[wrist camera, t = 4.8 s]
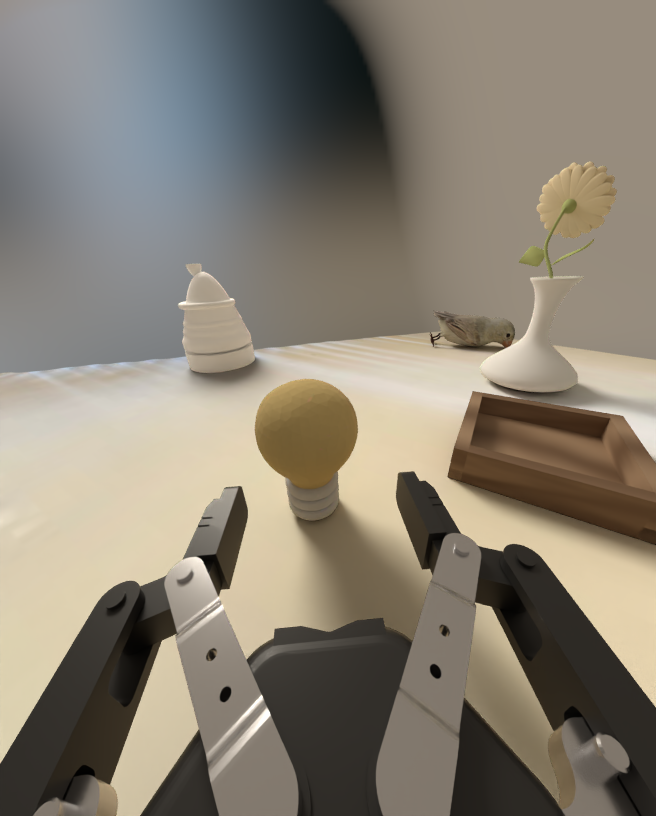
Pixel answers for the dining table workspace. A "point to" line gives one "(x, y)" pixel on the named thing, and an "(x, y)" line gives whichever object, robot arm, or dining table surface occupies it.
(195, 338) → the honey pot
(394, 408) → the dining table surface
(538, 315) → the flower in vase
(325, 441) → the light bulb
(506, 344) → the decorative bird
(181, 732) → the dining table surface
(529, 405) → the walnut tray
